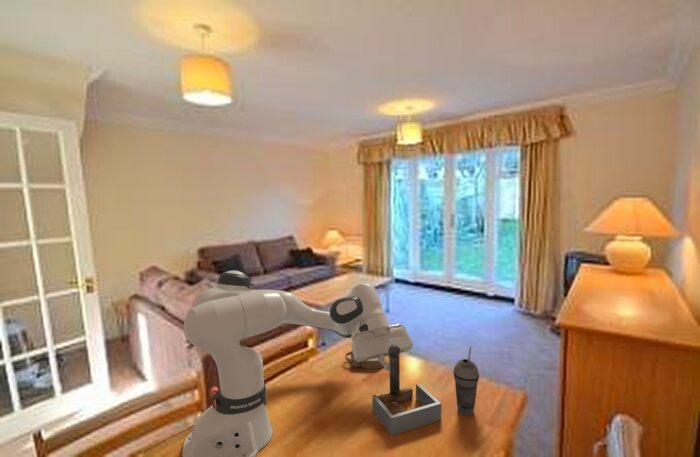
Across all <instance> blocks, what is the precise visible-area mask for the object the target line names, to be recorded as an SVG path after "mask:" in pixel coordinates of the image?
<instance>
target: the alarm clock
mask: <svg viewBox="0 0 700 457" xmlns="http://www.w3.org/2000/svg"><path fill="white" fill-rule="evenodd" d="M349 355H350V357H351V358H348V356H349ZM384 357H385V358H386V356H384ZM385 358H384V360H385ZM345 360H346V361H347V362H349V363H351V365H352V366H353V367H354V368H362V369H363V368H364V369H366V370H367V369H368V370H377V369H380V368H382V367H384V366H383V365H382V364H381V363H380V362H379V360H378V358H375V359H370V360H365V361H361V362H357V361H356V360H355V359H354V356H353V351H352V350H351V351H350V352H349V351H348V352H347V353H346V354H345Z"/></svg>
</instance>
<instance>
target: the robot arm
mask: <svg viewBox="0 0 700 457" xmlns="http://www.w3.org/2000/svg"><path fill="white" fill-rule="evenodd" d="M216 283H217V286H216V287H212V288H207V289H205V290H203V291H201V292H200V293H198V295H197V296H196V297H195V299H194V302H193V307H191V308H190V309H189V310H188V311H187V313H186V315H185V317H184V321H183V330H184V331H183V332H184V335H185V338H186V339H187V340H188V342H189V343H190V344H192V345H193V346H195V347H197V348H198V349H201V350H203V351H205V352H207V353H208V354H209V355H210V356H211V357H212V358H213V360H214V362H215V364H216V367H217V372H218V378H219V388H218V386H213V387H211V388H210V397H212V401H211V402H212V405H210V407H208V408H207V409H205V411H204V412H202V413H201V414H200V415H198V417H197V418H196V420H195V421H194V423H193V428H192V431H191V432H190V433H189V434H188V435H187V436H186V438H185V440H184V442H183V447H182V455H181V456H182V457H256V456H257V454H258V453H259V452H260V450H261V449H263V448H264V447H265V446H266V445H267V444H268V443H269V442H270V441H271V439H272V437H273V432H274V430H273V427H272V424H271V422H270V418H269V415H268V410H267V400H268V398H267V397H268V396H267V395H268V394H267V386H266V381H265V380H264V378H265V377H264V363H263V362H264V361H263V357H262V355H261V353H260V352H259V351H257V350H256V349H254V348H251V347H248V346H242V345H241V344H240V342H241V340H242V339H245V338H248V337H252V336H256V335H259V334H263V333H266V332H268V331H271V330H273V329H274V328H277V327H279V326H281V325H282V324H284V323H285V324H292V325H300V326H306V327H311V328H316V329H320V330H326V331H331V332H333V333H335V334H337V335H338V336H340V337H342V338H345V339H351V340H352V343H351V351H353V356H354V359H355V360H356V361H357V362H361V361H365V360H370V359H375V358H378V360H379V362H380V363H381V364H382V365H383V366H382V367H384V370H385V371H390V362H387V360H385V359H384V358H386V357H388V358H389V355H390V354H389V352H388V349H389V347H390V346H391V345H397V346H399V348H400V354H402V353H407V352H409V351H411V350H412V348H413V346H414V344H413V341H412V339H411V336H410V334H409V333H408V330H407V327H406V326H405V325H402V324H401V323H397V324H391V325H390V323H389V320H388V318H387V314H386V313H385V312H384V309H383V304H382V301H381V299H380V296H379V294H378V292H377V290H376V288H375V287H374V286H373V285H371V284H370V283H360V284H356V285H355V286H353V288H352V289H351V290H350V291H349V293H347V294H346V295H345V296H343V297H341V298H337V299H336V300H335V301H334V302H332V304H331V306H330V309H329V311H325V310H320V309H315V308H312V307H310V306H308V305H307V304H306V303H304V302H303V301H302V300H301V299H300V298H299V297H298V296H297V295H296V294H293V293H291V292H288V291H285V290H280V289H278V290H277V289H252V288H251V287H255V286H256V285H255V283H252V280H251V279H250V277H249V276H248V274H247V273H246V274H245V273H244V272H242V271H240V270H228V271H224V272H222V273H220V274H219V277H218V279H217V282H216ZM384 356H385V357H384Z"/></svg>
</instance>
